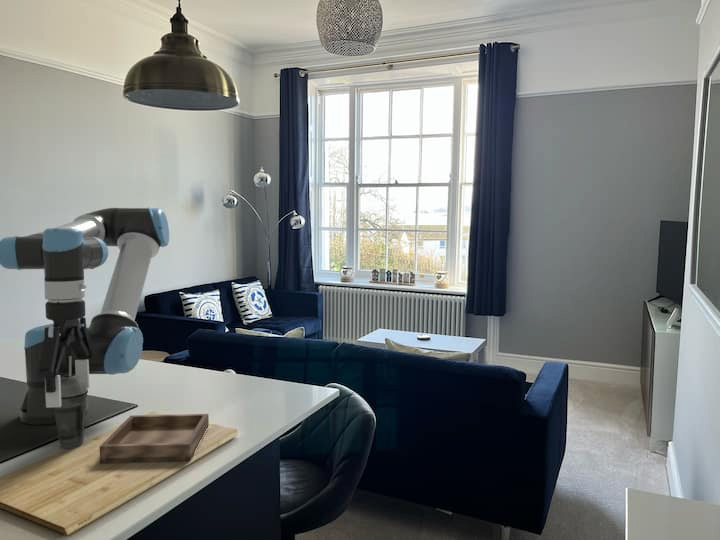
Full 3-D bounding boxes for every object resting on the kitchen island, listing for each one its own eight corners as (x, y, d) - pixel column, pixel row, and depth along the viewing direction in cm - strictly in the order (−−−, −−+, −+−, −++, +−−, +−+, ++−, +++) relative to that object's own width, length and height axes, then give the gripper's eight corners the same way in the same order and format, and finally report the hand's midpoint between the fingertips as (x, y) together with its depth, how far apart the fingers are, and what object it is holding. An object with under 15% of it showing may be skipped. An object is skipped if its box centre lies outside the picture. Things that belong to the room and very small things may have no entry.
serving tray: (100, 463, 110) (99, 446, 110) (131, 430, 128) (130, 415, 128) (190, 460, 112) (190, 444, 111) (208, 428, 130) (208, 413, 129)
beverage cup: (81, 435, 125) (77, 349, 123) (96, 443, 120) (92, 354, 119) (47, 445, 119) (42, 355, 118) (61, 454, 115) (57, 361, 113)
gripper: (54, 308, 105) (59, 415, 106) (106, 293, 130) (109, 380, 131) (14, 308, 104) (19, 416, 106) (73, 293, 129) (77, 381, 131)
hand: (69, 396), depth 119 cm, fingers open, 13 cm apart
